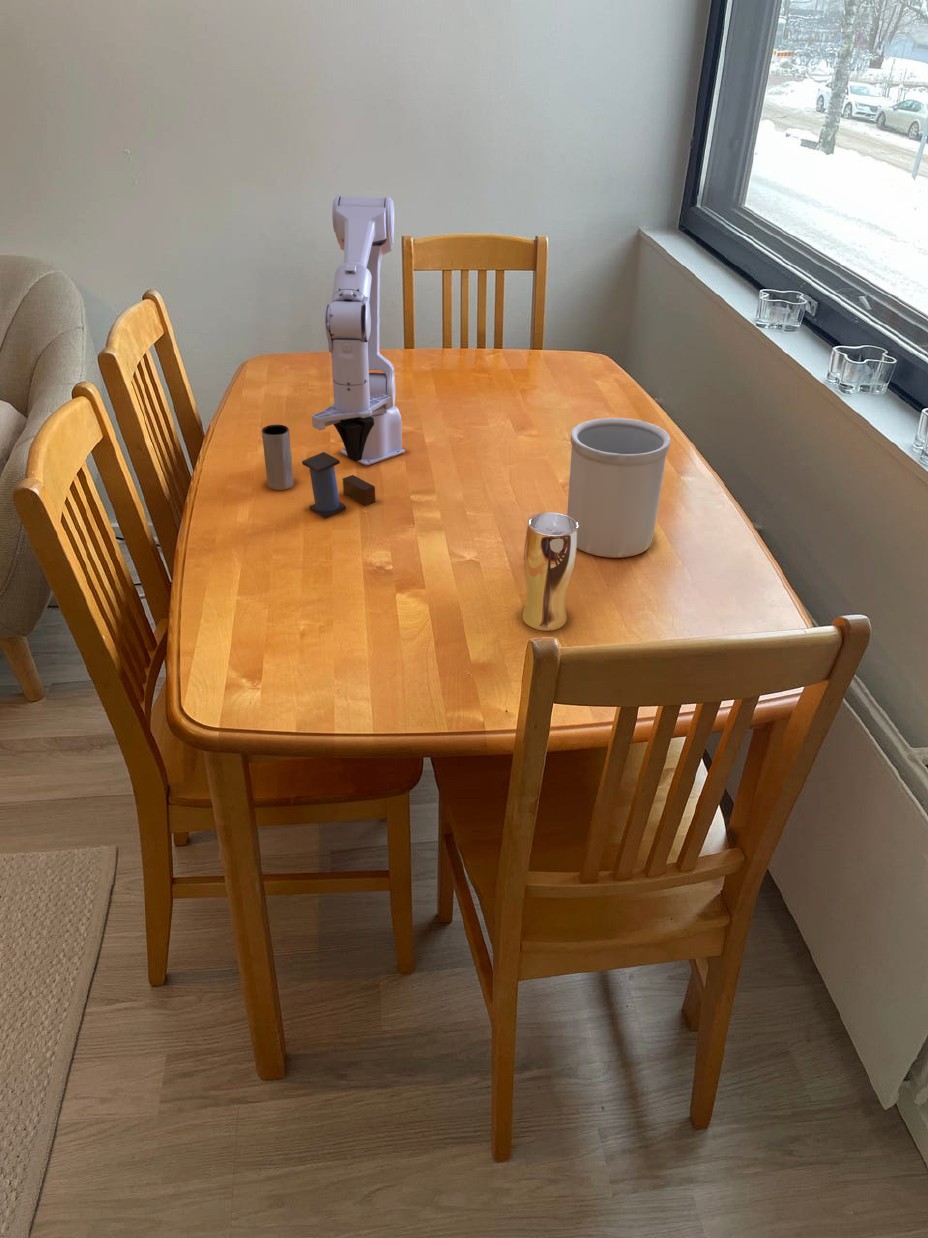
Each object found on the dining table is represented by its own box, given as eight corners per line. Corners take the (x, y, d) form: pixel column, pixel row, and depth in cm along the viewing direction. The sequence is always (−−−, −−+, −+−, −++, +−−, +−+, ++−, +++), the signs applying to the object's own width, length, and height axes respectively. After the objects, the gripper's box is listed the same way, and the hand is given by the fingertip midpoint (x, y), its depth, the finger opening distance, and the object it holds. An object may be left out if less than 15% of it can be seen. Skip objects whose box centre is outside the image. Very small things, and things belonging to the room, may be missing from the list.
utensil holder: (545, 524, 150) (553, 423, 140) (623, 509, 155) (636, 410, 145) (590, 567, 139) (602, 461, 129) (672, 549, 144) (690, 446, 134)
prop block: (353, 490, 159) (353, 474, 157) (375, 502, 155) (374, 486, 153) (343, 494, 157) (342, 478, 156) (365, 506, 154) (364, 490, 152)
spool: (347, 462, 154) (308, 445, 147) (363, 470, 151) (325, 453, 144) (323, 514, 155) (284, 499, 148) (339, 523, 153) (300, 509, 145)
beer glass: (516, 605, 130) (522, 511, 121) (564, 604, 130) (574, 510, 122) (523, 633, 124) (530, 537, 116) (573, 632, 125) (584, 535, 116)
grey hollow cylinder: (288, 491, 158) (283, 435, 152) (263, 489, 158) (257, 433, 152) (297, 480, 161) (292, 425, 155) (273, 477, 162) (267, 422, 156)
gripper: (328, 397, 138) (334, 479, 145) (402, 375, 146) (403, 454, 154) (301, 384, 142) (308, 464, 149) (374, 364, 150) (377, 441, 158)
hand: (354, 458), depth 152 cm, fingers closed
